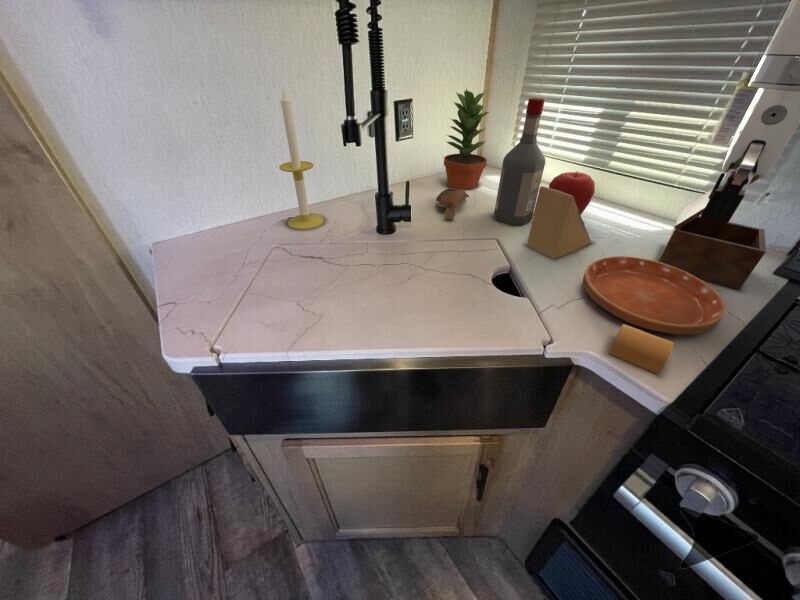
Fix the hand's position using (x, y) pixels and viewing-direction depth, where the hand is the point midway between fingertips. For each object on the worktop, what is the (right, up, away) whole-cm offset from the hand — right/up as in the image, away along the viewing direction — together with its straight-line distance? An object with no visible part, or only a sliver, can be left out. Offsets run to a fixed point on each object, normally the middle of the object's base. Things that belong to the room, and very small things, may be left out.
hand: (717, 210), depth 52 cm
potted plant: (-25, +28, +72) cm, 82 cm away
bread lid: (+18, +8, +19) cm, 27 cm away
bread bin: (+20, -6, +27) cm, 34 cm away
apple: (0, +10, +49) cm, 50 cm away
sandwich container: (-7, 0, +35) cm, 36 cm away
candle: (-74, +8, +46) cm, 88 cm away
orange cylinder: (-9, -23, +4) cm, 25 cm away
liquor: (-15, +10, +48) cm, 51 cm away
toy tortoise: (-32, +15, +55) cm, 65 cm away
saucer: (0, -14, +16) cm, 21 cm away
